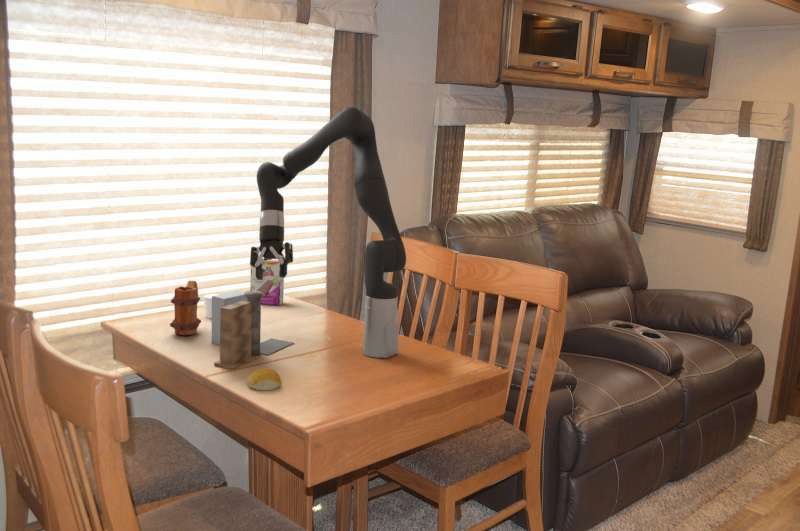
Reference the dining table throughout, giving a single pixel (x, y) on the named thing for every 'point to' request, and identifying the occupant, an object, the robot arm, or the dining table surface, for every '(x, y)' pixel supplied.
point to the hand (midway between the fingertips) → (271, 278)
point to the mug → (186, 309)
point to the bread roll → (264, 379)
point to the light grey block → (217, 303)
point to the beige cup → (208, 304)
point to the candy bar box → (269, 283)
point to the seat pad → (273, 346)
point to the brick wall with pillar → (240, 331)
